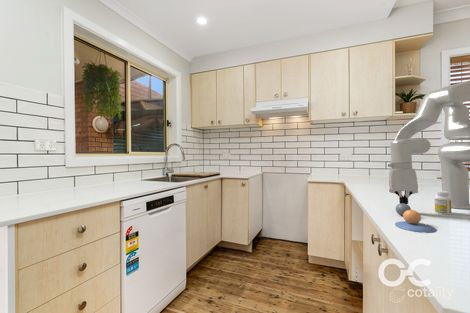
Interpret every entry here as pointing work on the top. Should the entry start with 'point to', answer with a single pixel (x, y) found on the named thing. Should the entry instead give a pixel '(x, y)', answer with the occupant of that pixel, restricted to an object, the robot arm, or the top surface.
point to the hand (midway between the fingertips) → (404, 205)
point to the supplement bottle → (443, 203)
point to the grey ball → (402, 208)
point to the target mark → (415, 227)
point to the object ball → (412, 216)
